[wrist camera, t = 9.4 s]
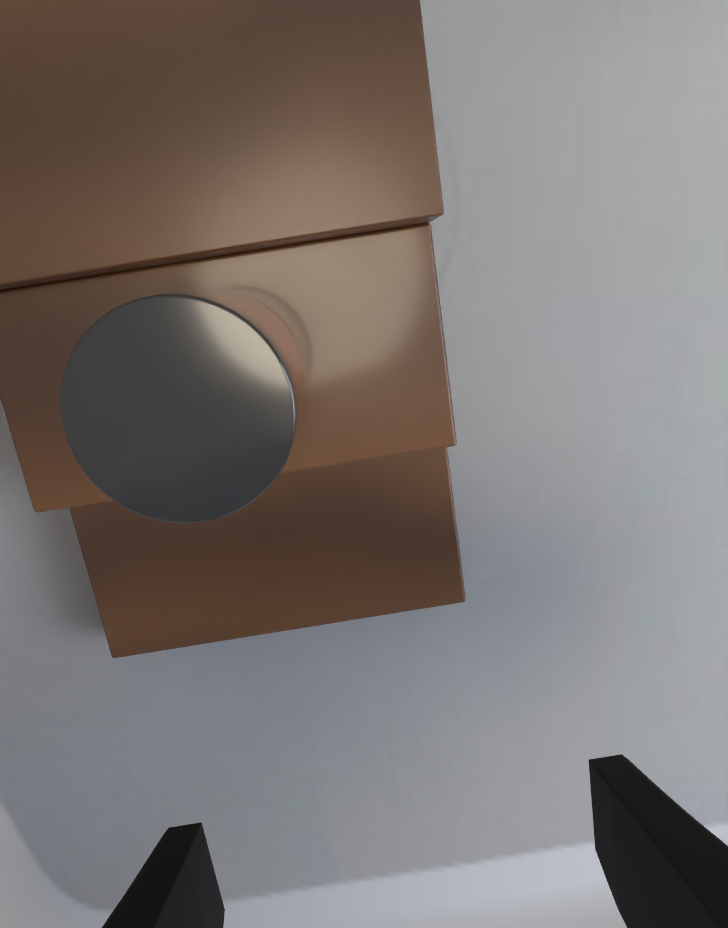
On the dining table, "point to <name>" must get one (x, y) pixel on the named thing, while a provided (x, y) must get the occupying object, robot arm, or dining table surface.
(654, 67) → the dining table surface
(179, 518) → the spice jar
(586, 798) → the dining table surface
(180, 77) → the spice shelf
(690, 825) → the robot arm
